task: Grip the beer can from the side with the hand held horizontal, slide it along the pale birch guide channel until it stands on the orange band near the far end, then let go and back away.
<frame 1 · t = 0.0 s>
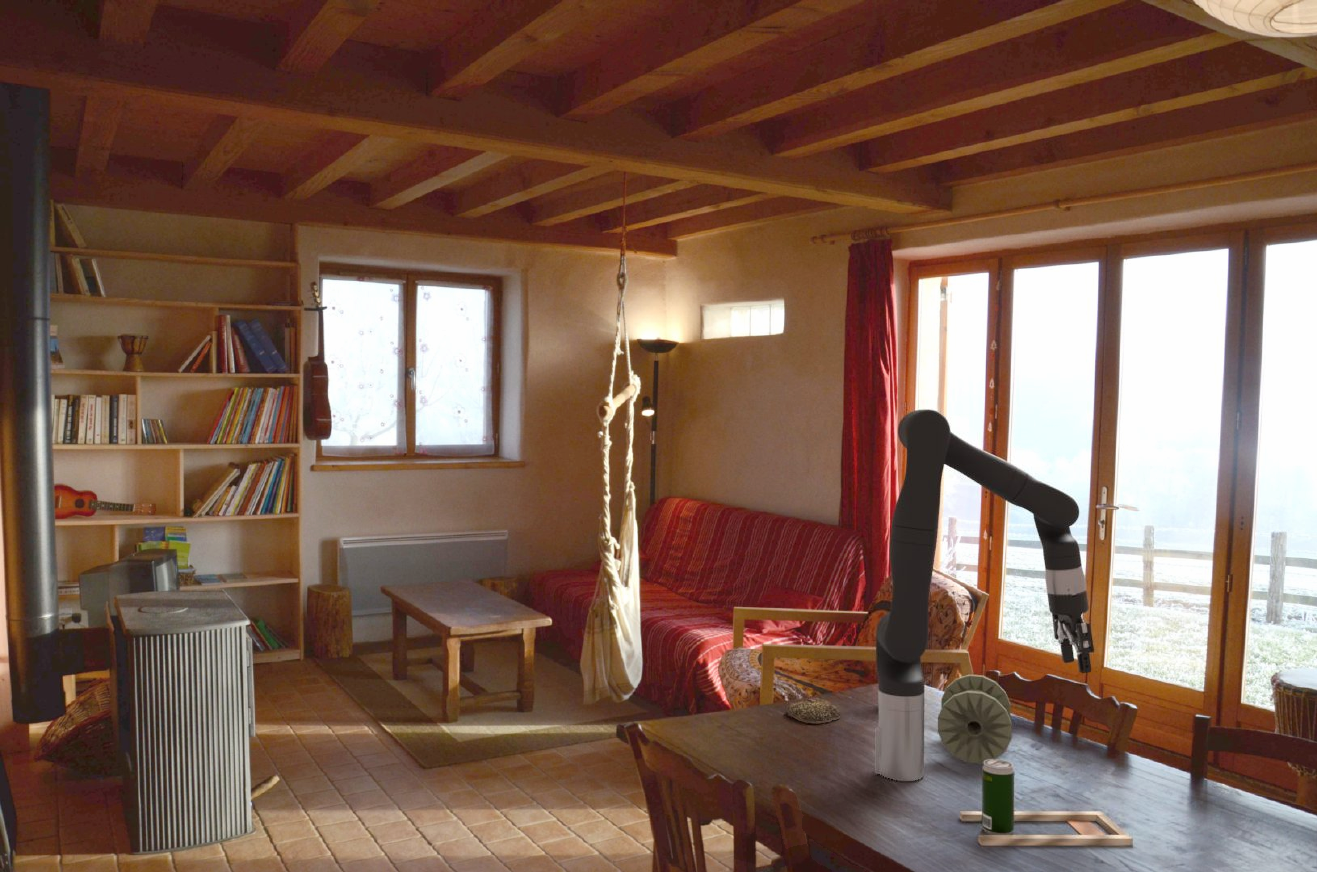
hand: (1076, 667, 204), 22 cm above the table, tool pointing down, fingers open, 8 cm apart
beer can: (997, 832, 176), on the table
spool: (974, 752, 220), on the table
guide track: (1043, 831, 176), on the table
speckled domed shell: (814, 718, 246), on the table
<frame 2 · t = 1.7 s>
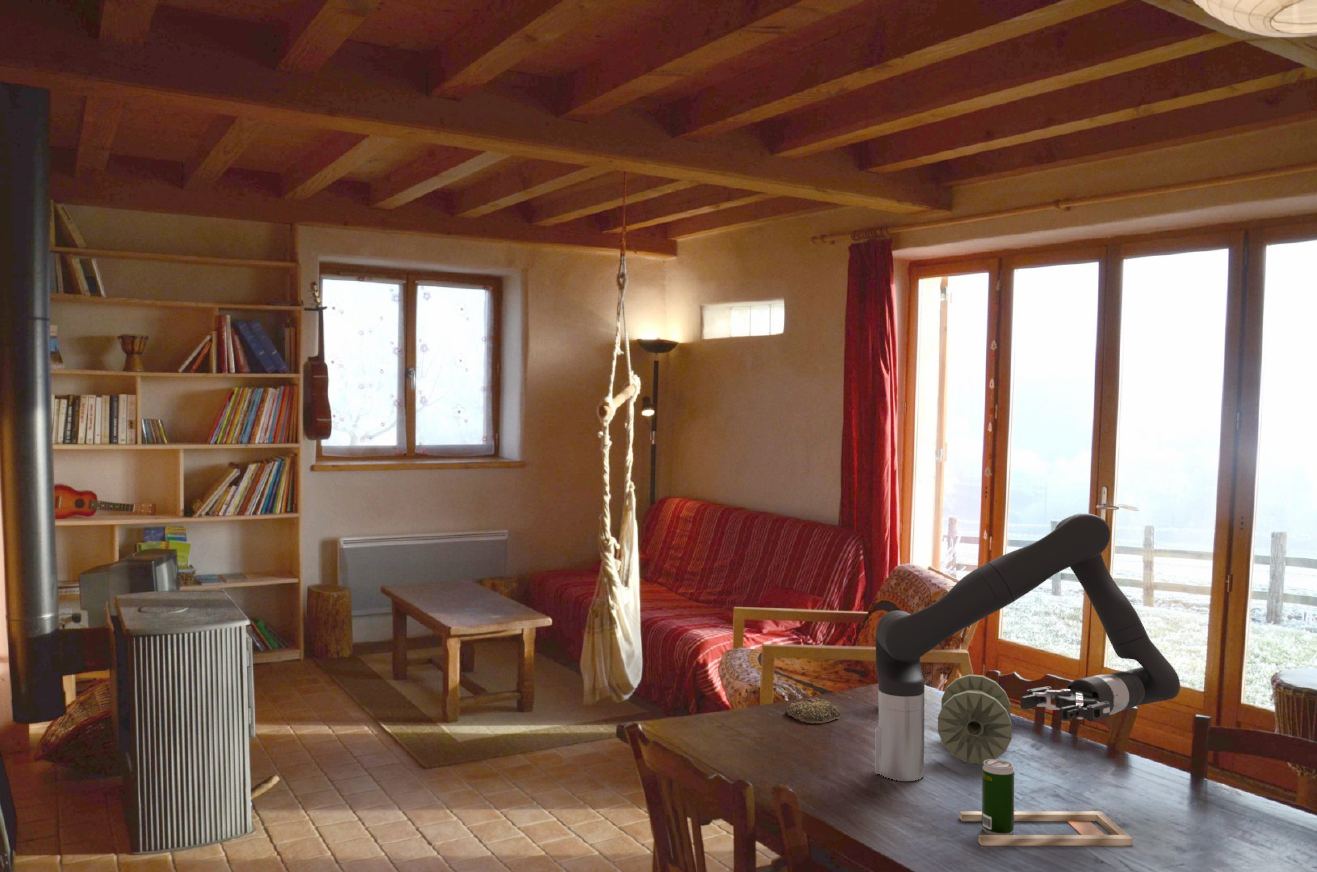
hand: (1041, 708, 181), 20 cm above the table, tool horizontal, fingers open, 8 cm apart
nothing on the table moved.
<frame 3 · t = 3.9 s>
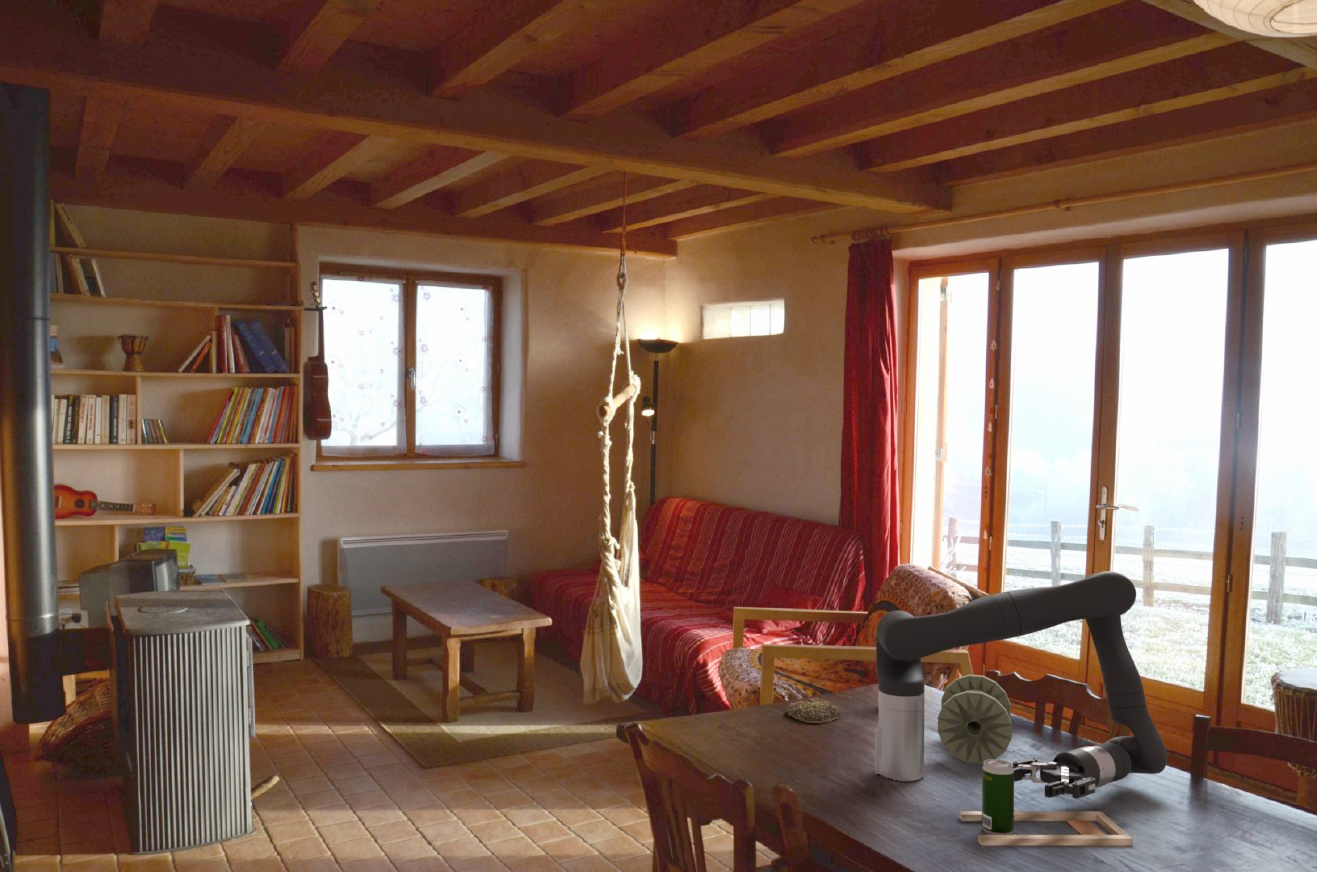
hand: (1026, 784, 180), 7 cm above the table, tool horizontal, fingers open, 8 cm apart
nothing on the table moved.
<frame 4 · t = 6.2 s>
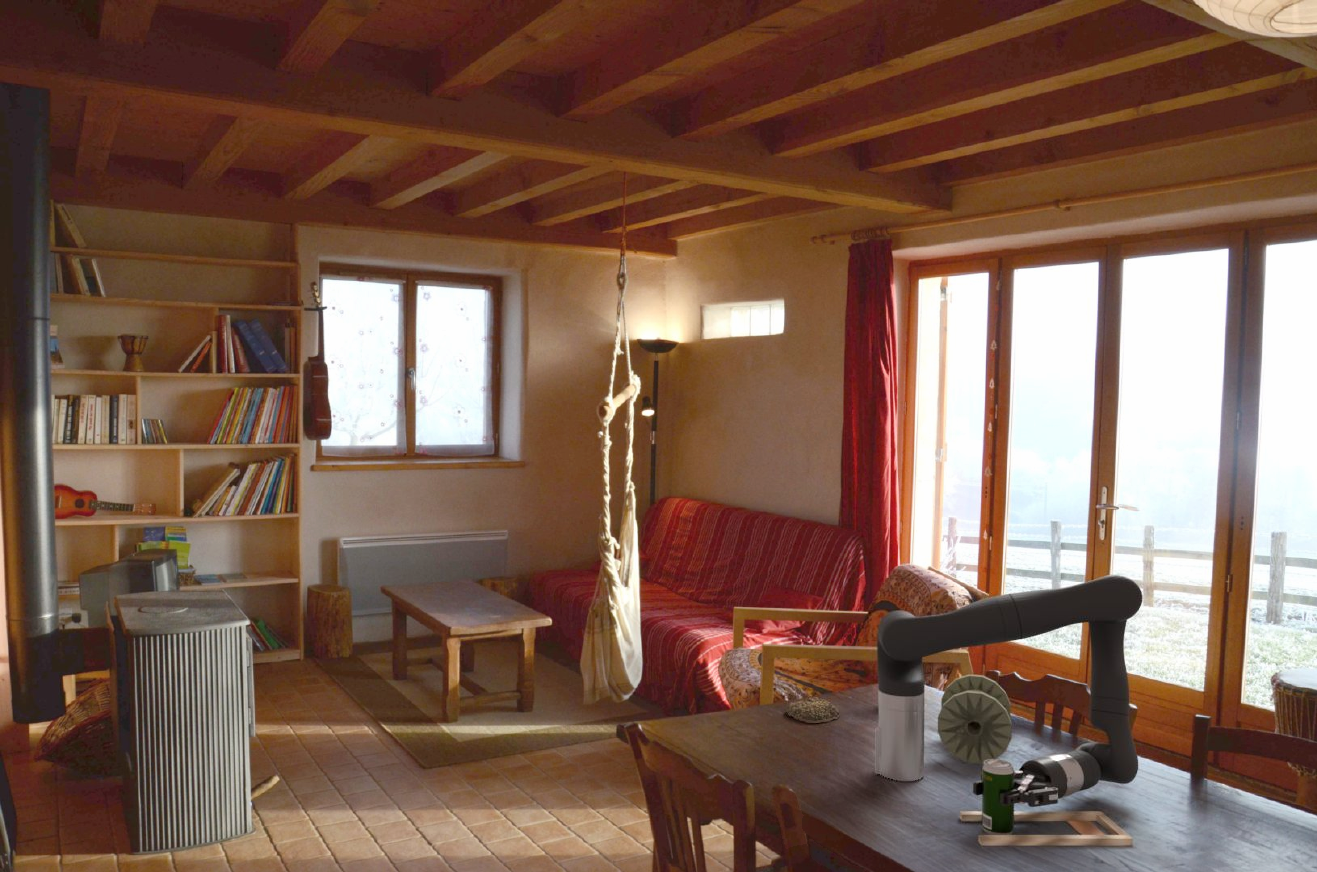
hand: (988, 794, 175), 7 cm above the table, tool horizontal, fingers closed on beer can, 5 cm apart
beer can: (997, 832, 176), on the table, touching gripper
everything else where it was.
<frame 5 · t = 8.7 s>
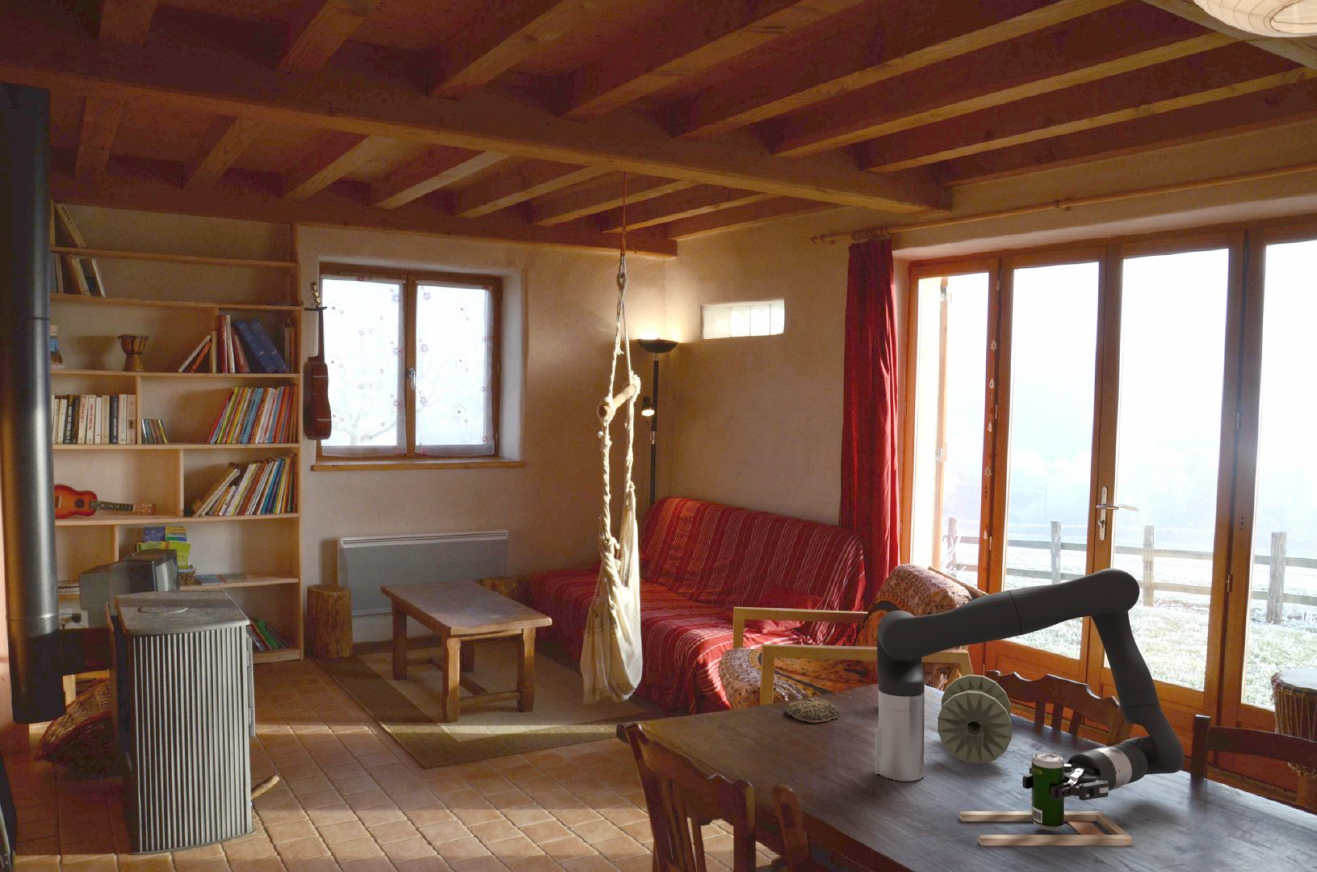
hand: (1038, 788, 175), 8 cm above the table, tool horizontal, fingers closed on beer can, 5 cm apart
beer can: (1047, 825, 176), point 1 cm above the table, touching gripper
everything else where it was.
when the fingers open (8 cm above the table, at t = 11.3 s): beer can stays where it is, resting on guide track.
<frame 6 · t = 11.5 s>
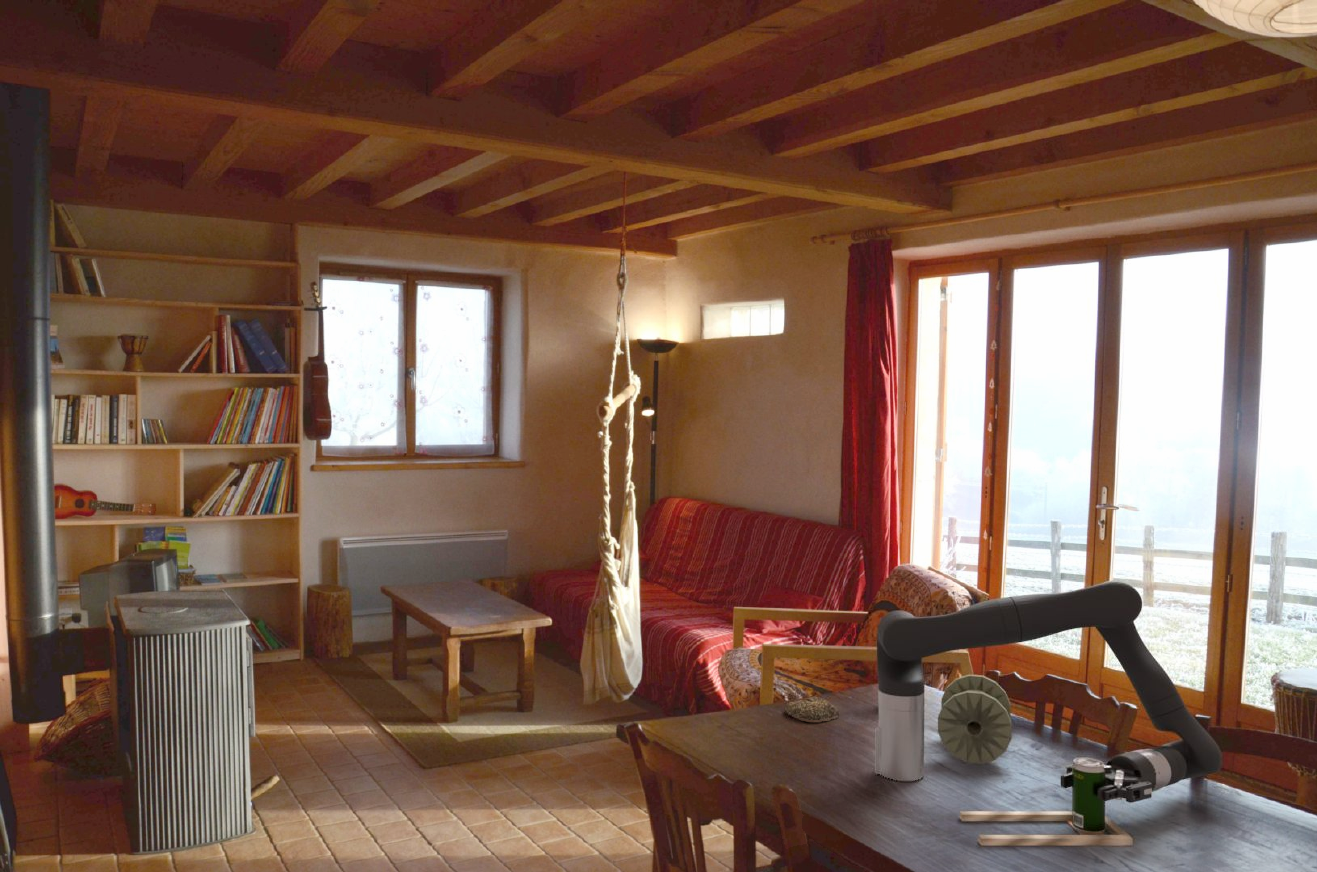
hand: (1080, 788, 175), 8 cm above the table, tool horizontal, fingers open, 7 cm apart
beer can: (1088, 830, 176), resting on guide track
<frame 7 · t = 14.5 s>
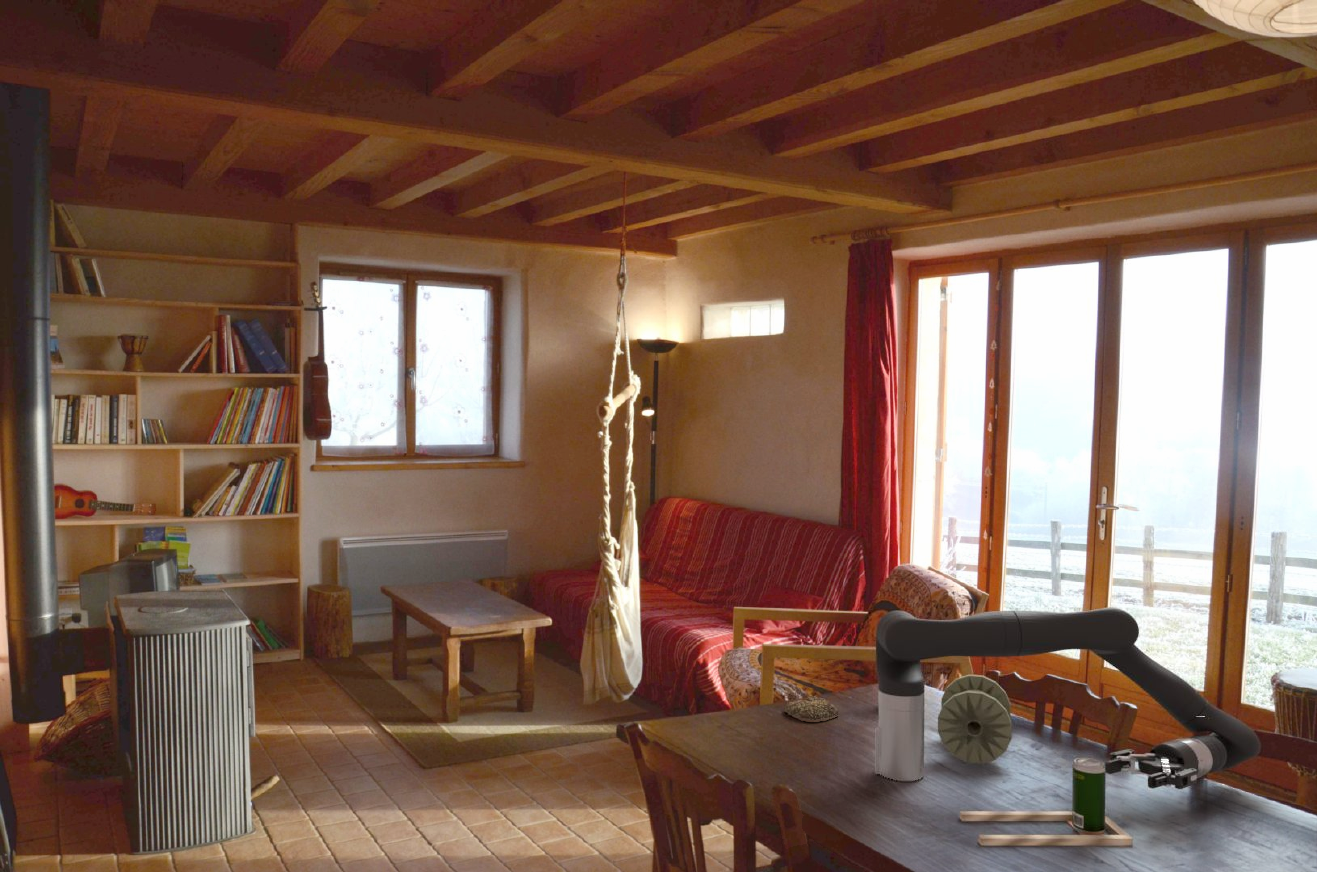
hand: (1128, 775, 182), 8 cm above the table, tool horizontal, fingers open, 8 cm apart
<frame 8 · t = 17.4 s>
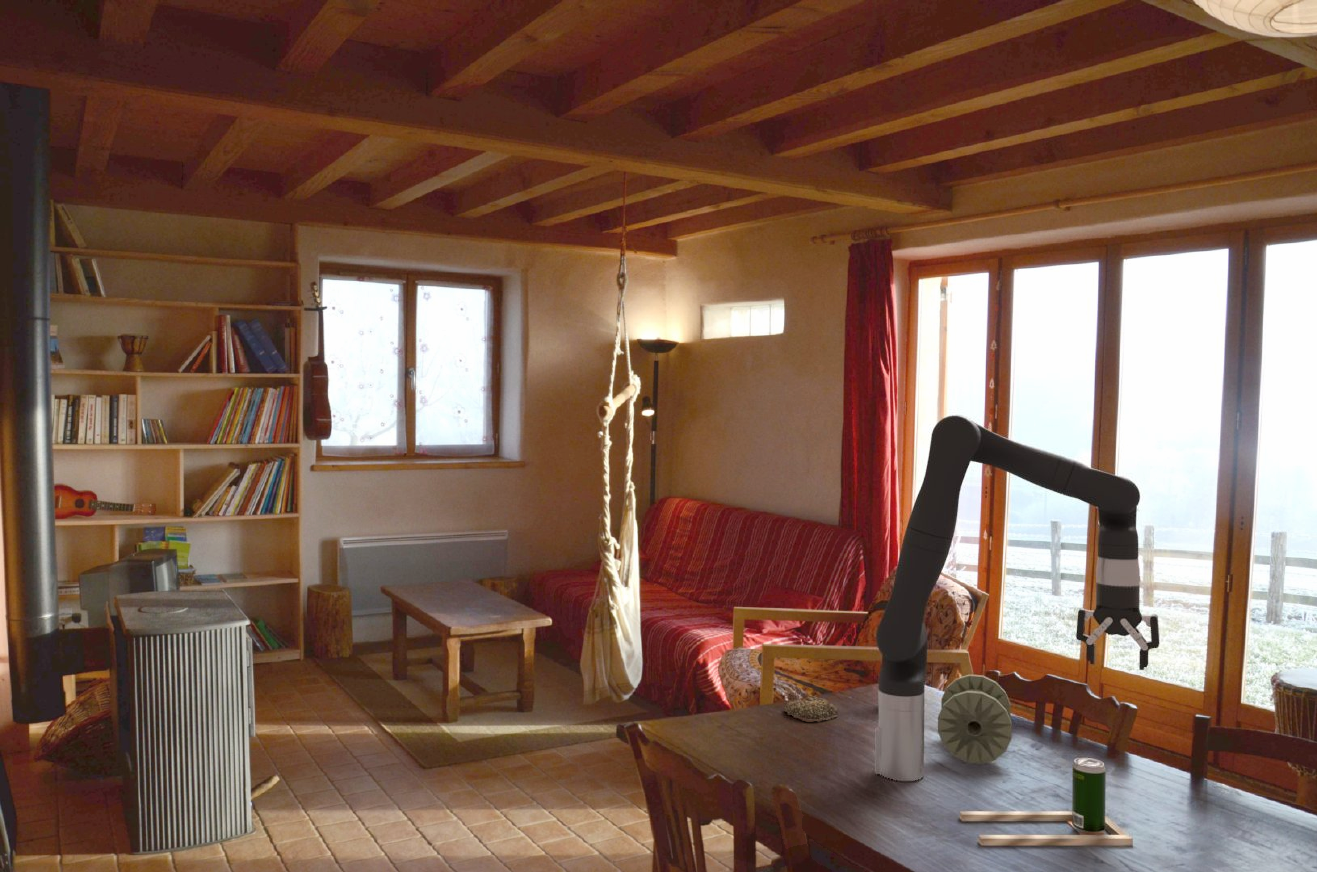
hand: (1117, 666, 189), 26 cm above the table, tool pointing down, fingers open, 8 cm apart
at the end: beer can 0.1 cm from the target spot, on the table; beer can tilted 0°; the gripper is holding nothing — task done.
